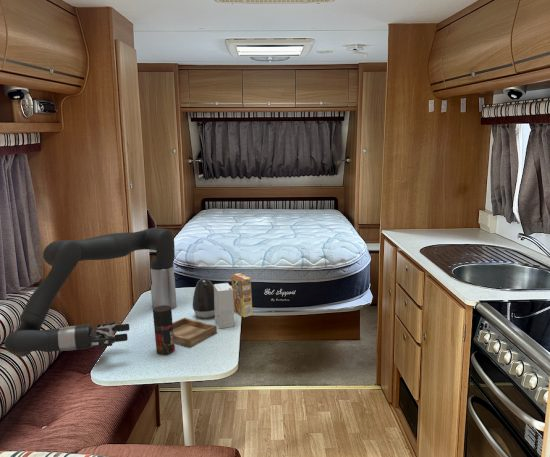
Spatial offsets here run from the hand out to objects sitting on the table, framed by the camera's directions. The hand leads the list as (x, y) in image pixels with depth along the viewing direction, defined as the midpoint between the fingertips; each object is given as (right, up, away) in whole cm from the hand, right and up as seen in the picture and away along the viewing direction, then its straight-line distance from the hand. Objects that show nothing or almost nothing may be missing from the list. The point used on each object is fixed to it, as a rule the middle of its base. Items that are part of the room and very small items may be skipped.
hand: (128, 331), depth 165 cm
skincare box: (+29, -2, +25) cm, 38 cm away
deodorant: (+11, -7, +4) cm, 14 cm away
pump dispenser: (+21, -1, +34) cm, 40 cm away
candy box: (+35, 0, +35) cm, 50 cm away
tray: (+16, -5, +16) cm, 23 cm away
